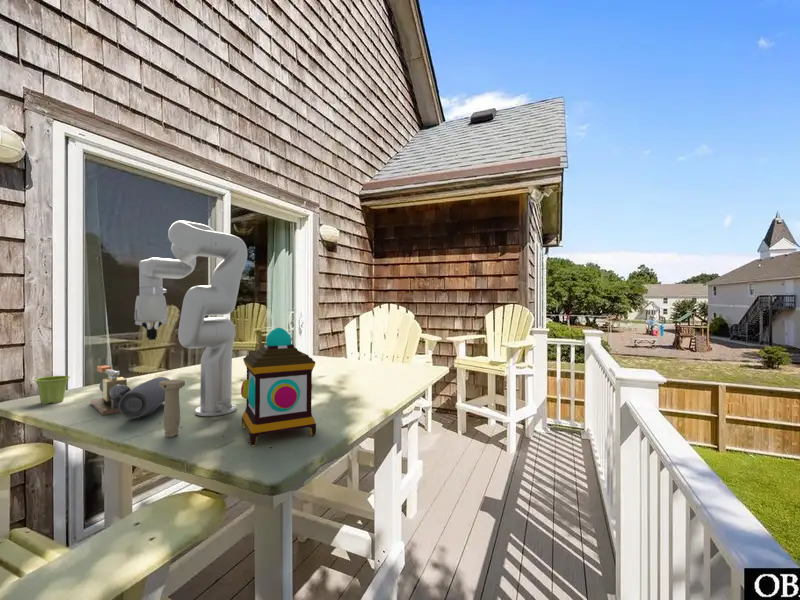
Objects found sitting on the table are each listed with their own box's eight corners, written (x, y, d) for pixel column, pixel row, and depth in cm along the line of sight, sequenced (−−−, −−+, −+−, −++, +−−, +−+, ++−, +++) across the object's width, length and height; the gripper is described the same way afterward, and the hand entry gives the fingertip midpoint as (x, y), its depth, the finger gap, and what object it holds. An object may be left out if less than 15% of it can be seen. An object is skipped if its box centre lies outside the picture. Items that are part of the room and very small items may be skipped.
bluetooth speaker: (146, 403, 138) (146, 375, 138) (175, 402, 140) (175, 375, 140) (115, 423, 116) (115, 390, 116) (149, 421, 118) (150, 389, 118)
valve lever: (121, 374, 135) (121, 369, 135) (111, 376, 132) (111, 370, 132) (106, 370, 143) (106, 365, 143) (97, 371, 141) (97, 366, 141)
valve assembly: (146, 407, 133) (146, 377, 133) (103, 415, 124) (103, 382, 124) (130, 397, 146) (131, 369, 146) (90, 403, 137) (91, 373, 137)
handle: (174, 440, 103) (175, 384, 103) (154, 437, 105) (155, 382, 105) (188, 433, 108) (188, 380, 108) (168, 432, 109) (169, 379, 109)
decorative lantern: (322, 437, 107) (323, 329, 107) (246, 450, 97) (247, 331, 97) (302, 417, 124) (303, 324, 124) (236, 427, 114) (237, 326, 114)
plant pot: (53, 398, 145) (53, 375, 145) (76, 399, 144) (76, 375, 144) (27, 404, 135) (27, 380, 135) (51, 405, 134) (51, 381, 134)
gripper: (169, 292, 157) (169, 337, 156) (125, 292, 146) (125, 340, 145) (175, 292, 152) (176, 338, 151) (131, 291, 141) (131, 341, 140)
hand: (151, 339), depth 148 cm, fingers closed
